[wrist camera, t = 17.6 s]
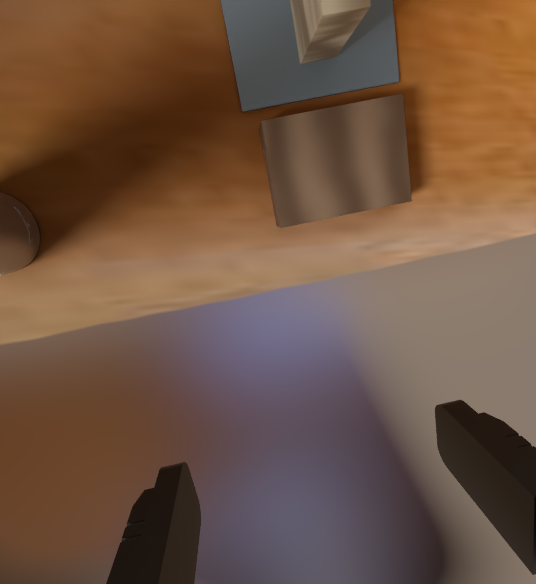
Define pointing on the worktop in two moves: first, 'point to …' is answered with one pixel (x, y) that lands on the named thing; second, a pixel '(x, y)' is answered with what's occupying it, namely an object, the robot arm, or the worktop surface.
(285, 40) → the rubber mat
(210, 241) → the worktop surface
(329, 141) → the plate
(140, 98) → the worktop surface
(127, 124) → the worktop surface
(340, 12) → the birch block
